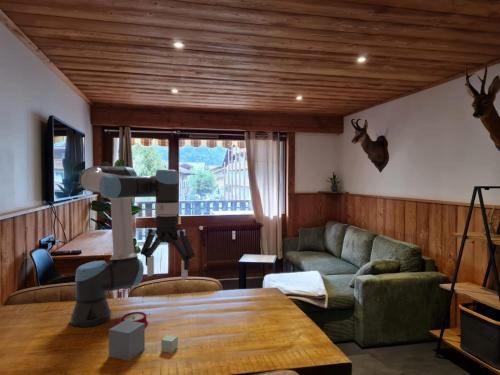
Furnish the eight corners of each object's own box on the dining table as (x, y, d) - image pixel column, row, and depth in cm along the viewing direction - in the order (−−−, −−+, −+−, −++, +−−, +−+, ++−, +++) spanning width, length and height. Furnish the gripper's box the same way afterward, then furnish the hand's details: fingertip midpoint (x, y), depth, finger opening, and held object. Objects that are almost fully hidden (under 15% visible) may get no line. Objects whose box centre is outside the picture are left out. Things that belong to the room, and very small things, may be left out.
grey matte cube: (108, 356, 111) (108, 329, 111) (125, 345, 118) (125, 320, 118) (128, 361, 108) (129, 333, 108) (144, 349, 116) (144, 323, 115)
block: (161, 351, 115) (161, 339, 114) (167, 345, 118) (167, 334, 118) (171, 353, 113) (171, 341, 113) (177, 347, 117) (177, 336, 117)
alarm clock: (153, 312, 139) (135, 318, 125) (152, 328, 138) (133, 336, 124) (130, 310, 141) (110, 316, 127) (129, 326, 140) (107, 333, 126)
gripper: (129, 214, 115) (130, 276, 116) (193, 217, 107) (193, 284, 107) (143, 213, 122) (144, 271, 123) (204, 215, 114) (204, 277, 114)
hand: (167, 277), depth 115 cm, fingers open, 13 cm apart
